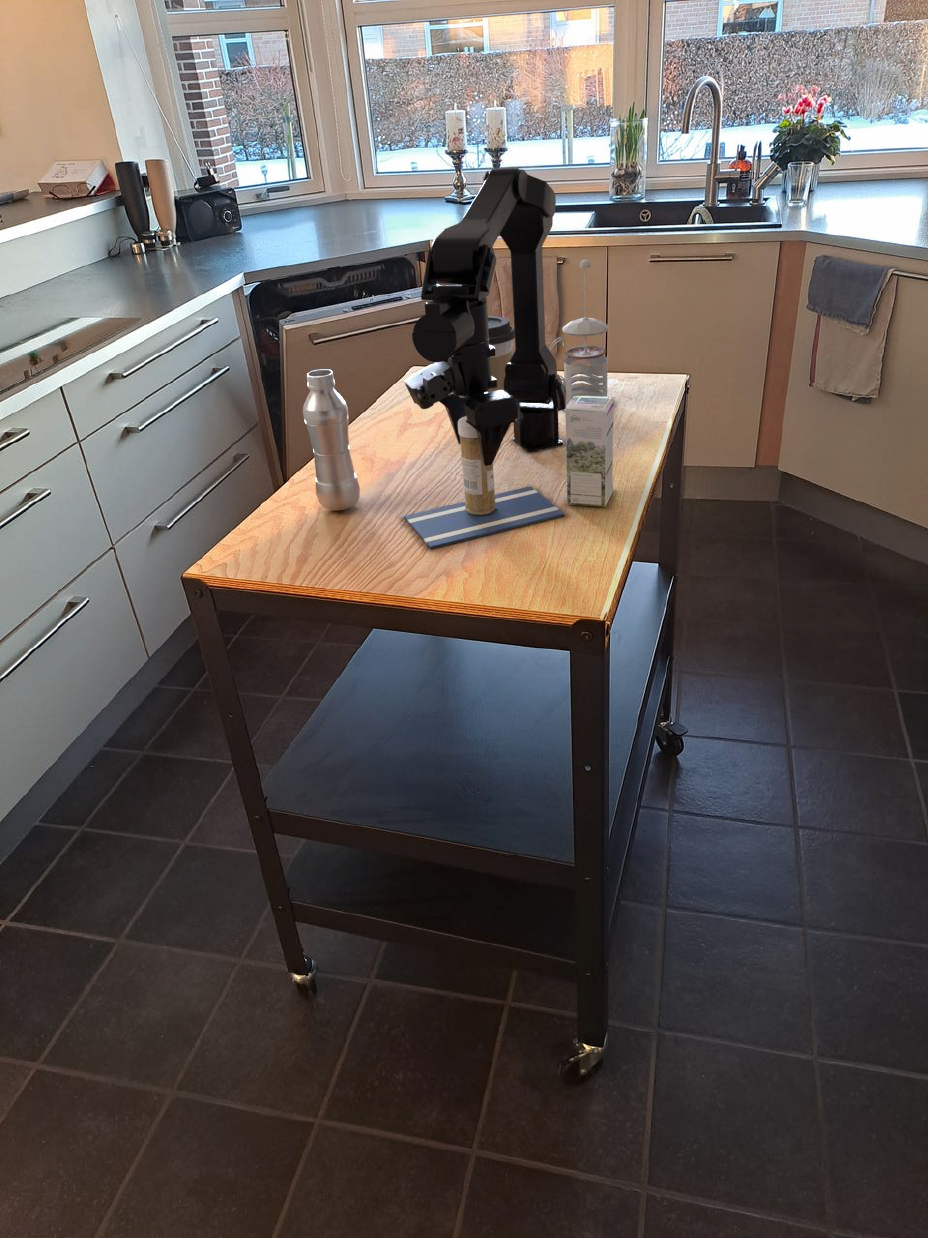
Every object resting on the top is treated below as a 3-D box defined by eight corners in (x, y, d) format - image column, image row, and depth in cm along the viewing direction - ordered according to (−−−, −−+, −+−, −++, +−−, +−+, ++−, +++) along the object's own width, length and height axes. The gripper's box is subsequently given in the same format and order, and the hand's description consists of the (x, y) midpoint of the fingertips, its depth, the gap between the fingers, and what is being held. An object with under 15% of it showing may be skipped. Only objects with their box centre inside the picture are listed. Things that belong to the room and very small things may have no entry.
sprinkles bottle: (502, 510, 131) (497, 418, 124) (476, 519, 129) (469, 427, 122) (484, 500, 134) (478, 410, 127) (458, 509, 132) (450, 418, 125)
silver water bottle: (327, 519, 133) (305, 383, 123) (312, 503, 138) (289, 372, 128) (369, 508, 135) (350, 374, 125) (352, 493, 141) (333, 363, 130)
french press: (616, 411, 163) (618, 263, 150) (550, 416, 164) (546, 268, 151) (609, 393, 171) (610, 251, 158) (547, 398, 172) (543, 257, 159)
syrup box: (613, 491, 134) (614, 394, 127) (605, 508, 129) (606, 408, 122) (575, 489, 136) (574, 393, 128) (565, 506, 131) (564, 407, 124)
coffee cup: (462, 395, 177) (456, 315, 169) (521, 393, 175) (518, 312, 168) (454, 415, 168) (447, 331, 160) (516, 413, 166) (512, 329, 158)
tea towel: (530, 488, 137) (530, 485, 137) (564, 515, 128) (564, 513, 128) (404, 518, 132) (403, 515, 131) (430, 549, 123) (430, 546, 123)
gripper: (385, 334, 124) (398, 444, 132) (433, 368, 109) (444, 490, 117) (462, 321, 127) (469, 429, 135) (519, 351, 112) (524, 472, 120)
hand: (474, 454), depth 127 cm, fingers open, 9 cm apart
